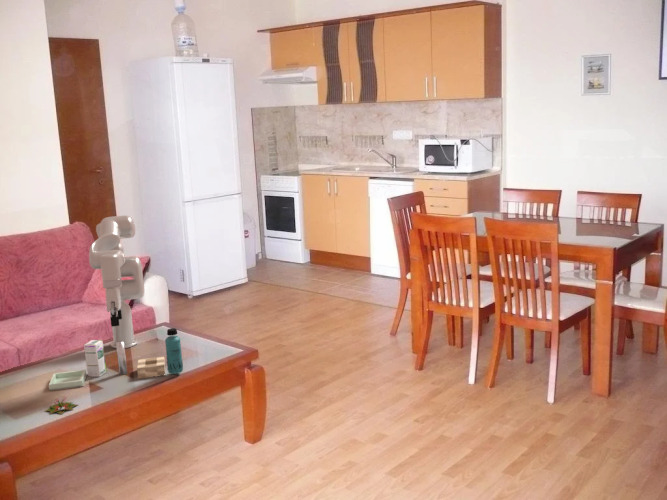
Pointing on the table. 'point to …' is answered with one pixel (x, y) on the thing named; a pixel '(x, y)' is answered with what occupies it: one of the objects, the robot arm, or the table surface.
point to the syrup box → (95, 358)
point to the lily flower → (62, 404)
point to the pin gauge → (121, 357)
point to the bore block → (151, 367)
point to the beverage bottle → (173, 352)
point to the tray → (67, 380)
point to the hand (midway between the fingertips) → (116, 322)
